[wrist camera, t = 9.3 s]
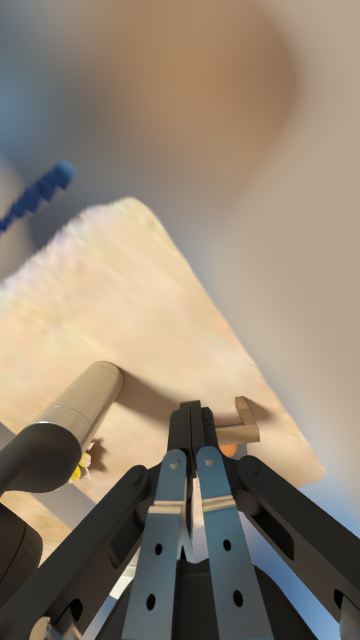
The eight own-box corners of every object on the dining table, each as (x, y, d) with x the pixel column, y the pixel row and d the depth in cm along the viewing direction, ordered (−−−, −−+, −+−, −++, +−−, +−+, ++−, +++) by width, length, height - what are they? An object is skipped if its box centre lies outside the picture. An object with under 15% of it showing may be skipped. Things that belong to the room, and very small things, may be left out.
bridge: (244, 406, 42) (260, 441, 33) (185, 414, 43) (186, 449, 35) (243, 396, 42) (258, 429, 33) (183, 404, 43) (183, 438, 34)
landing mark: (247, 462, 47) (247, 462, 47) (199, 467, 48) (199, 467, 48) (243, 423, 44) (243, 424, 43) (192, 429, 45) (192, 430, 44)
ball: (220, 425, 46) (225, 449, 45) (206, 433, 43) (212, 459, 41) (237, 426, 43) (244, 452, 41) (225, 435, 39) (232, 464, 37)
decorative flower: (93, 482, 48) (60, 528, 39) (60, 463, 50) (22, 502, 41) (104, 439, 46) (72, 476, 36) (69, 420, 48) (30, 451, 38)
